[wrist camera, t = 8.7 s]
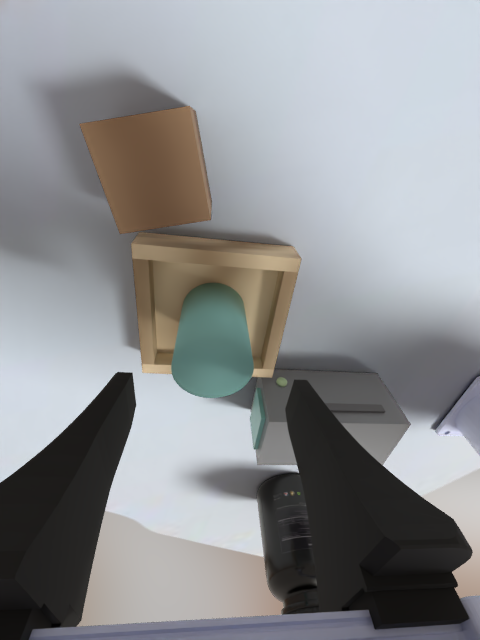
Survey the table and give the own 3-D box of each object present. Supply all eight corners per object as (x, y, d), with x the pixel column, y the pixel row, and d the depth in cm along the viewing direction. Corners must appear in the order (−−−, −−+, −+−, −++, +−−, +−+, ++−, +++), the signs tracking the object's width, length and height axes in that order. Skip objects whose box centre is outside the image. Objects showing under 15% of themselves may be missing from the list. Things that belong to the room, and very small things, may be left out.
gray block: (378, 371, 24) (412, 422, 20) (356, 412, 27) (382, 464, 23) (256, 366, 23) (265, 419, 19) (247, 410, 25) (253, 464, 21)
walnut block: (195, 111, 14) (189, 105, 10) (211, 200, 16) (210, 219, 12) (112, 124, 14) (79, 123, 10) (139, 211, 16) (120, 234, 13)
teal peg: (248, 285, 18) (259, 339, 13) (240, 337, 20) (247, 398, 15) (182, 280, 17) (170, 334, 13) (181, 333, 19) (171, 396, 15)
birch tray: (293, 246, 17) (301, 259, 16) (267, 359, 22) (272, 377, 21) (139, 231, 16) (130, 243, 15) (148, 353, 21) (142, 372, 20)
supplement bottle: (310, 499, 36) (346, 643, 26) (255, 503, 35) (271, 651, 25) (318, 469, 32) (364, 624, 22) (256, 473, 32) (275, 633, 22)
